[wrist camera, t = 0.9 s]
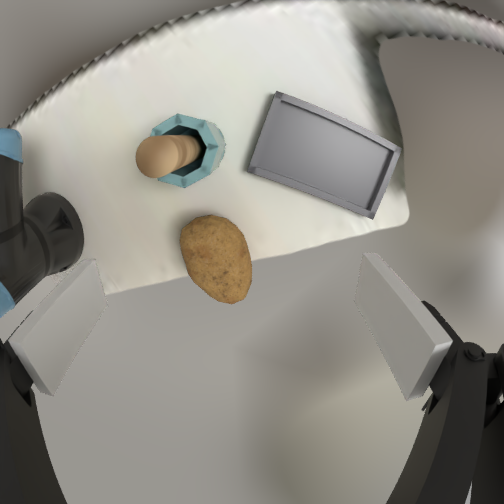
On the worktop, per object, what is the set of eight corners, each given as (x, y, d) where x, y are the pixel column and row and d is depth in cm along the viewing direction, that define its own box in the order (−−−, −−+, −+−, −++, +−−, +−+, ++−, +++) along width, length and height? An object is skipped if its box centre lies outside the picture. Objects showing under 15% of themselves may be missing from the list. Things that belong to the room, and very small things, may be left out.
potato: (213, 293, 47) (206, 322, 40) (174, 221, 42) (158, 240, 35) (266, 274, 46) (269, 301, 38) (231, 196, 40) (226, 210, 33)
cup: (163, 166, 38) (139, 175, 30) (179, 113, 35) (157, 108, 27) (215, 181, 39) (204, 194, 31) (232, 128, 36) (226, 125, 28)
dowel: (180, 156, 37) (131, 172, 21) (187, 132, 36) (141, 131, 20) (203, 162, 37) (169, 182, 22) (211, 138, 36) (180, 141, 20)
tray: (247, 169, 39) (247, 171, 37) (275, 93, 34) (276, 90, 32) (367, 215, 41) (372, 219, 39) (394, 147, 37) (401, 148, 35)
